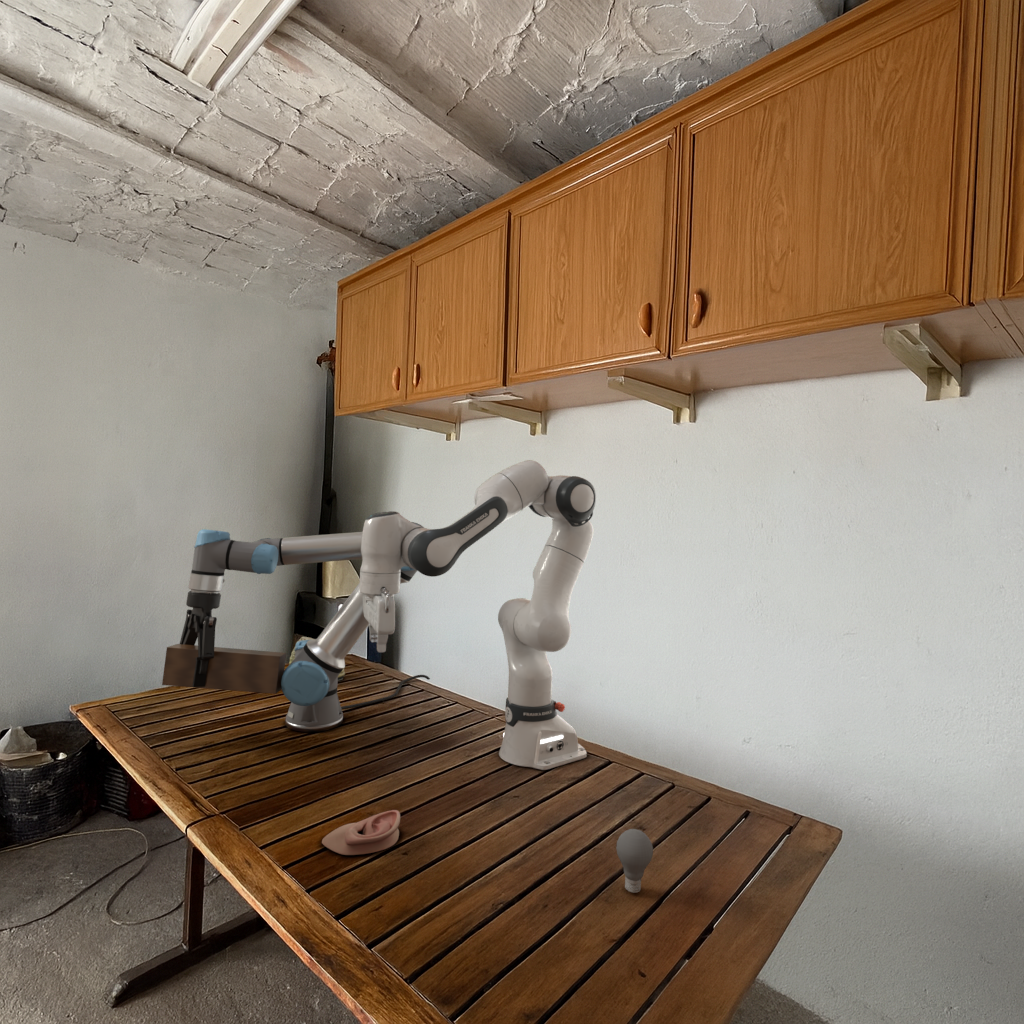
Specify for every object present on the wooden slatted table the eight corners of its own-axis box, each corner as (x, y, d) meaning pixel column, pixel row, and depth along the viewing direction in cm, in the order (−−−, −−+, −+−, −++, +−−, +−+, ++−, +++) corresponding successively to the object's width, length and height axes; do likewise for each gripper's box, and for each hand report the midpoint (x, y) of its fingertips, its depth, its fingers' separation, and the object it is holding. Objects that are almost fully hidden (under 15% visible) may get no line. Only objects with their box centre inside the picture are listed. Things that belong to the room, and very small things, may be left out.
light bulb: (610, 879, 108) (613, 822, 108) (644, 879, 109) (647, 822, 109) (619, 902, 102) (622, 840, 102) (655, 901, 103) (658, 840, 103)
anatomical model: (313, 828, 113) (343, 799, 125) (313, 850, 113) (342, 819, 125) (383, 839, 111) (407, 808, 122) (382, 862, 111) (406, 829, 122)
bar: (161, 685, 153) (166, 647, 154) (172, 680, 159) (177, 643, 159) (275, 693, 155) (280, 656, 156) (282, 688, 161) (286, 652, 161)
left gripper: (237, 597, 153) (223, 691, 151) (204, 586, 169) (191, 671, 167) (205, 596, 148) (190, 693, 146) (174, 585, 163) (160, 672, 162)
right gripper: (403, 591, 132) (400, 657, 132) (386, 578, 151) (383, 636, 151) (373, 591, 130) (370, 658, 130) (359, 578, 149) (356, 637, 149)
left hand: (191, 681), depth 157 cm, fingers closed on bar, 10 cm apart
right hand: (377, 646), depth 141 cm, fingers open, 8 cm apart
